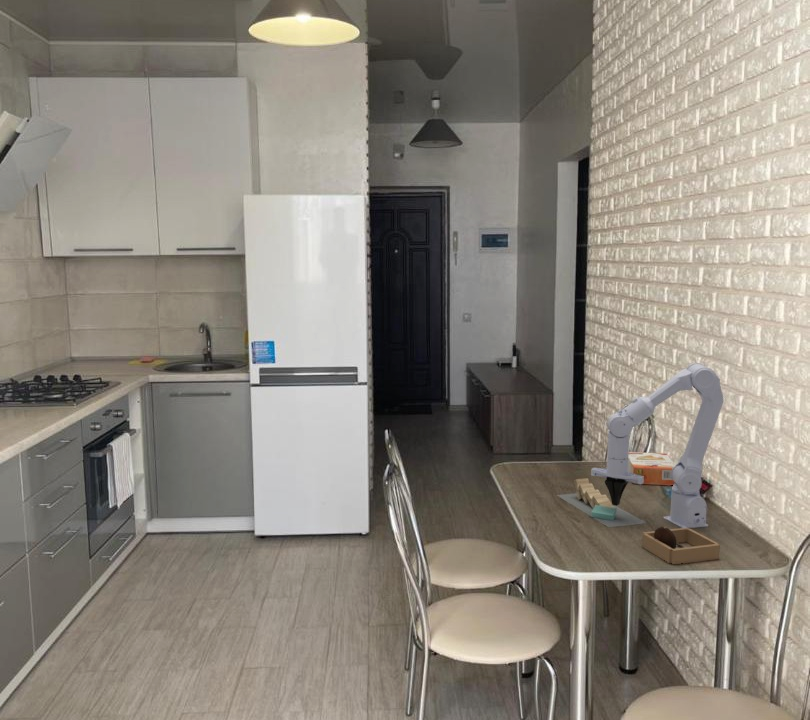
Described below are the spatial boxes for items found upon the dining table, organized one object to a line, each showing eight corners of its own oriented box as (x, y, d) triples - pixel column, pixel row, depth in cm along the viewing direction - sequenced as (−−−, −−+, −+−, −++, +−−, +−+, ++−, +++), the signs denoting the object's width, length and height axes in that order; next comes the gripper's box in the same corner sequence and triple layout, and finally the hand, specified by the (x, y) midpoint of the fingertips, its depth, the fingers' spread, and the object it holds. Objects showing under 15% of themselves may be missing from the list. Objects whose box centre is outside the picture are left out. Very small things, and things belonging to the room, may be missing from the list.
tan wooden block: (607, 503, 229) (598, 489, 233) (594, 505, 228) (585, 490, 232) (605, 507, 230) (596, 493, 234) (593, 509, 228) (584, 494, 233)
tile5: (592, 497, 237) (588, 478, 239) (580, 498, 235) (576, 479, 238) (590, 498, 238) (585, 479, 240) (578, 500, 237) (573, 480, 239)
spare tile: (616, 508, 221) (595, 504, 224) (612, 515, 218) (591, 512, 221) (616, 513, 222) (595, 509, 225) (612, 520, 219) (591, 516, 221)
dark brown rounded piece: (692, 553, 196) (694, 524, 195) (672, 559, 192) (674, 531, 191) (665, 543, 203) (667, 516, 202) (645, 549, 198) (646, 521, 197)
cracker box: (633, 466, 254) (624, 451, 275) (632, 484, 255) (624, 467, 275) (678, 467, 252) (666, 452, 273) (677, 486, 253) (665, 469, 273)
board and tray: (720, 558, 192) (721, 544, 192) (667, 565, 188) (668, 551, 188) (599, 492, 246) (600, 481, 245) (556, 496, 242) (556, 485, 241)
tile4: (599, 500, 233) (591, 483, 237) (587, 501, 232) (580, 484, 235) (597, 503, 234) (590, 486, 238) (585, 504, 233) (578, 487, 237)
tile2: (615, 508, 225) (605, 494, 230) (602, 509, 223) (593, 495, 228) (613, 512, 225) (603, 498, 230) (601, 513, 224) (591, 499, 229)
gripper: (648, 458, 218) (646, 505, 219) (598, 450, 226) (597, 496, 228) (639, 463, 212) (636, 512, 214) (588, 455, 221) (586, 502, 222)
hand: (615, 504), depth 220 cm, fingers closed
